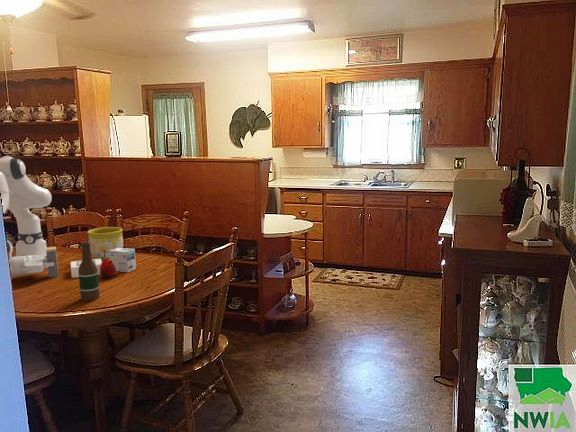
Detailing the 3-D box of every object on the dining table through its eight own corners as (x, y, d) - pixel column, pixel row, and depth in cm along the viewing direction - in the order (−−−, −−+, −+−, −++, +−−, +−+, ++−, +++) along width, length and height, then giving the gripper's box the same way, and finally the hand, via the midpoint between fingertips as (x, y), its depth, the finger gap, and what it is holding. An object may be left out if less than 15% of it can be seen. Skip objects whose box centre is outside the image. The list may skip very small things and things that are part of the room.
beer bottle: (83, 295, 202) (79, 240, 198) (102, 294, 202) (98, 240, 198) (77, 301, 194) (72, 245, 190) (96, 301, 195) (92, 244, 191)
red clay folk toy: (119, 275, 229) (117, 245, 227) (110, 280, 223) (108, 249, 220) (106, 274, 231) (103, 245, 229) (96, 279, 225) (94, 248, 222)
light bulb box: (136, 269, 241) (135, 248, 239) (128, 272, 235) (126, 251, 233) (119, 267, 244) (117, 247, 242) (110, 271, 238) (108, 250, 236)
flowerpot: (90, 265, 249) (87, 234, 246) (89, 257, 265) (86, 228, 262) (126, 261, 256) (124, 231, 253) (123, 253, 272) (121, 225, 269)
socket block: (71, 271, 238) (70, 261, 237) (101, 267, 243) (100, 257, 242) (71, 277, 227) (70, 267, 226) (102, 274, 233) (102, 263, 232)
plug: (49, 275, 231) (46, 247, 229) (58, 274, 233) (55, 246, 230) (48, 277, 227) (45, 249, 225) (58, 276, 229) (55, 248, 226)
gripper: (19, 264, 214) (53, 260, 219) (23, 254, 232) (54, 251, 238) (20, 277, 215) (54, 273, 220) (24, 266, 233) (55, 263, 239)
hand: (54, 261), depth 229 cm, fingers open, 6 cm apart
